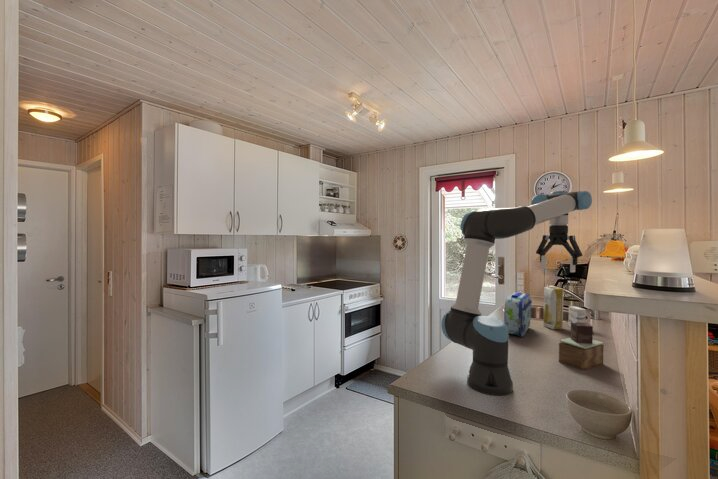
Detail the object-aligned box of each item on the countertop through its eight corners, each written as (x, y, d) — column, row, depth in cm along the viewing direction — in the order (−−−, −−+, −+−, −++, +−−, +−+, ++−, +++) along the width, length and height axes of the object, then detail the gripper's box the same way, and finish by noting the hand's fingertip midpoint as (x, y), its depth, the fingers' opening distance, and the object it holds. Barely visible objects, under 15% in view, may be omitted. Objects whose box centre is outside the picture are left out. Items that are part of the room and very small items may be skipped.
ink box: (586, 330, 186) (586, 309, 186) (577, 330, 186) (577, 309, 186) (576, 326, 195) (576, 305, 194) (567, 326, 195) (568, 305, 194)
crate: (583, 370, 132) (584, 350, 132) (558, 361, 141) (559, 342, 141) (603, 363, 139) (603, 344, 139) (577, 355, 148) (578, 337, 148)
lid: (585, 348, 132) (585, 347, 132) (559, 341, 141) (560, 340, 141) (603, 343, 139) (603, 342, 139) (578, 337, 148) (578, 335, 148)
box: (592, 344, 136) (593, 326, 136) (576, 343, 137) (577, 325, 137) (585, 339, 142) (586, 322, 142) (570, 338, 143) (570, 321, 143)
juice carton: (541, 325, 196) (542, 284, 195) (553, 325, 197) (554, 284, 196) (552, 330, 186) (553, 287, 186) (565, 329, 187) (566, 287, 187)
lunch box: (524, 339, 170) (525, 298, 169) (501, 335, 176) (502, 296, 175) (532, 327, 191) (533, 291, 190) (512, 324, 197) (513, 289, 197)
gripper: (592, 224, 146) (591, 273, 146) (538, 225, 168) (537, 267, 168) (582, 224, 142) (581, 274, 143) (528, 225, 164) (527, 268, 165)
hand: (557, 270), depth 156 cm, fingers open, 13 cm apart
